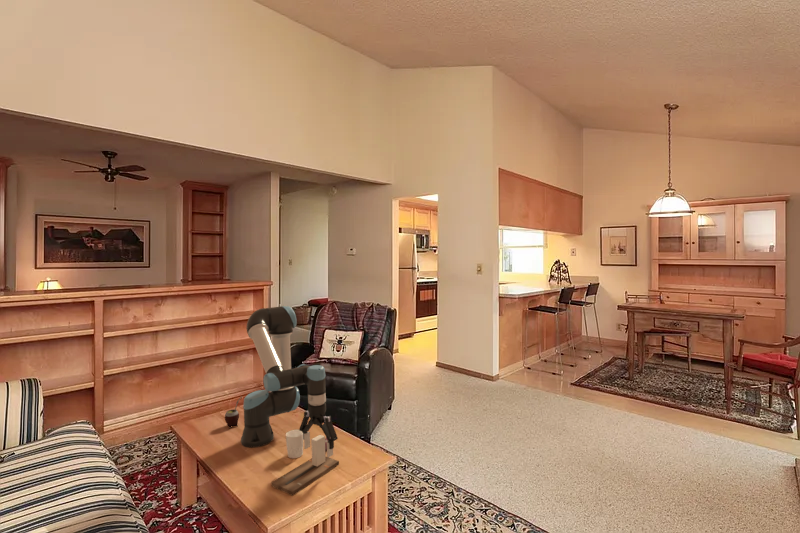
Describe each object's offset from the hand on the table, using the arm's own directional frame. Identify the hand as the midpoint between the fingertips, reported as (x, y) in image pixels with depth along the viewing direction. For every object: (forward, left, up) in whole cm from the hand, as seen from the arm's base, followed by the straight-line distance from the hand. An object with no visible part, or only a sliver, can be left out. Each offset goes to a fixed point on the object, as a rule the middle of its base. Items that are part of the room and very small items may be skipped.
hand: (318, 451), depth 172 cm
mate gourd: (-70, +6, -7) cm, 71 cm away
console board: (0, -7, -7) cm, 10 cm away
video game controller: (-9, +14, -7) cm, 18 cm away
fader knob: (0, 0, -5) cm, 5 cm away
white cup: (-17, +2, -7) cm, 18 cm away
